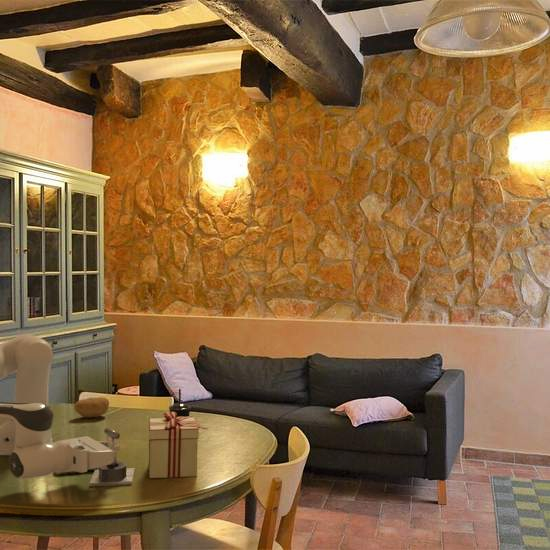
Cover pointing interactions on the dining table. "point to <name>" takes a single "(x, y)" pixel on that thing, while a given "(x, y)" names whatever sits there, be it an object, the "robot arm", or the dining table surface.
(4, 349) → the robot arm
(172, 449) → the gift box
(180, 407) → the drinking cup
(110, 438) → the chuck key
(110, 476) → the chuck socket
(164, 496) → the dining table surface
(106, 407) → the potato
